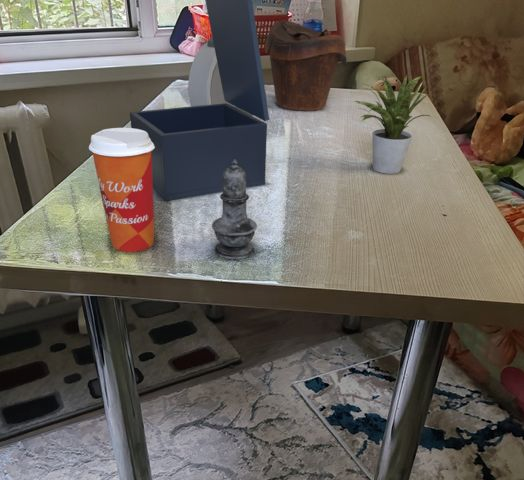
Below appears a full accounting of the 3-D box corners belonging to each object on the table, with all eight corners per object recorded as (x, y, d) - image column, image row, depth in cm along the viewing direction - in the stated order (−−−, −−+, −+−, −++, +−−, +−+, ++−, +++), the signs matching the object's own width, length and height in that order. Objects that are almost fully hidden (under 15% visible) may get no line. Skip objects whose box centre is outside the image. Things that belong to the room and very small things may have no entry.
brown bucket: (339, 116, 131) (349, 31, 121) (257, 110, 133) (260, 26, 123) (342, 100, 146) (351, 22, 135) (268, 95, 148) (271, 18, 137)
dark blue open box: (166, 200, 86) (161, 135, 80) (135, 171, 96) (129, 112, 90) (265, 184, 93) (267, 123, 87) (227, 159, 103) (226, 102, 97)
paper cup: (92, 250, 71) (74, 139, 63) (121, 227, 77) (108, 123, 69) (146, 259, 70) (135, 147, 61) (172, 235, 76) (164, 130, 67)
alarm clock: (227, 121, 125) (226, 29, 114) (264, 129, 120) (267, 34, 109) (180, 137, 114) (174, 36, 103) (218, 146, 109) (217, 43, 98)
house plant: (366, 150, 110) (379, 60, 101) (433, 163, 105) (454, 69, 95) (336, 169, 101) (347, 71, 91) (408, 185, 95) (428, 82, 85)
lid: (244, -18, 74) (283, -29, 76) (200, -24, 84) (235, -34, 86) (265, 121, 87) (298, 109, 88) (224, 101, 97) (254, 90, 99)
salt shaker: (218, 238, 75) (216, 150, 68) (260, 243, 75) (262, 154, 68) (207, 257, 71) (204, 164, 64) (252, 262, 70) (254, 169, 63)
